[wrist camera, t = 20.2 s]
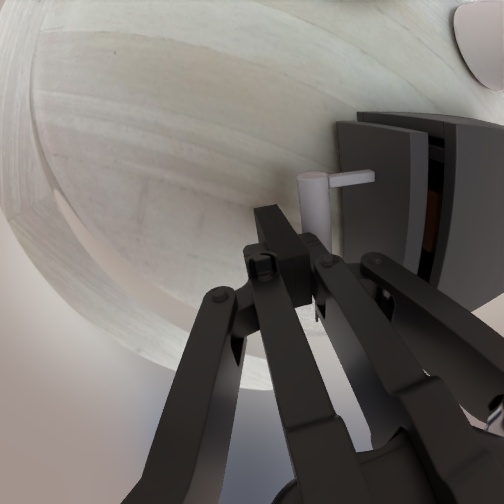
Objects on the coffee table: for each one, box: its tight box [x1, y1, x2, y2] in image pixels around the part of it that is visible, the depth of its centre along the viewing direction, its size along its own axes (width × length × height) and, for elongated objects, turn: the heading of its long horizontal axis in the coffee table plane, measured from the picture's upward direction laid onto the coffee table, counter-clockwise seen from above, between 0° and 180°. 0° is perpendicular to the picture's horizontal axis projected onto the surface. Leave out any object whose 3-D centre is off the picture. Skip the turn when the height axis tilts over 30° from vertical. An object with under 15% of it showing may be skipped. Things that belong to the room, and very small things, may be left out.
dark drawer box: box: [357, 112, 504, 312], centre depth 16 cm, size 15×13×10 cm
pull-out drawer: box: [297, 121, 445, 298], centre depth 16 cm, size 18×12×8 cm, turn 99°
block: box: [422, 169, 444, 253], centre depth 16 cm, size 4×4×5 cm
